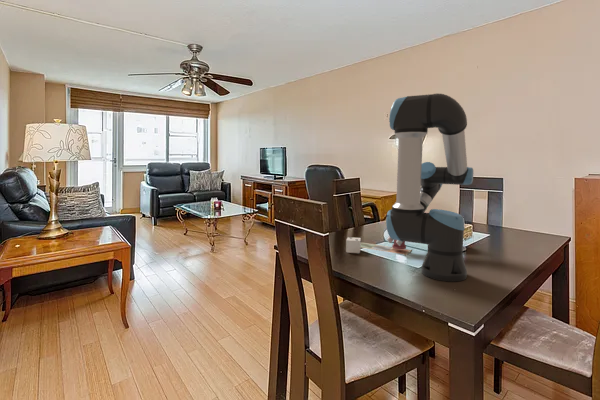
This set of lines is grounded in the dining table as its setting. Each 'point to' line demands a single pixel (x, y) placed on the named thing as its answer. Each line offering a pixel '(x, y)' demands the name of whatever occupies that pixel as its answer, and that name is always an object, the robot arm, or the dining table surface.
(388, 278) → the dining table surface
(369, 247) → the game board
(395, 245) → the dildo
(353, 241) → the die
